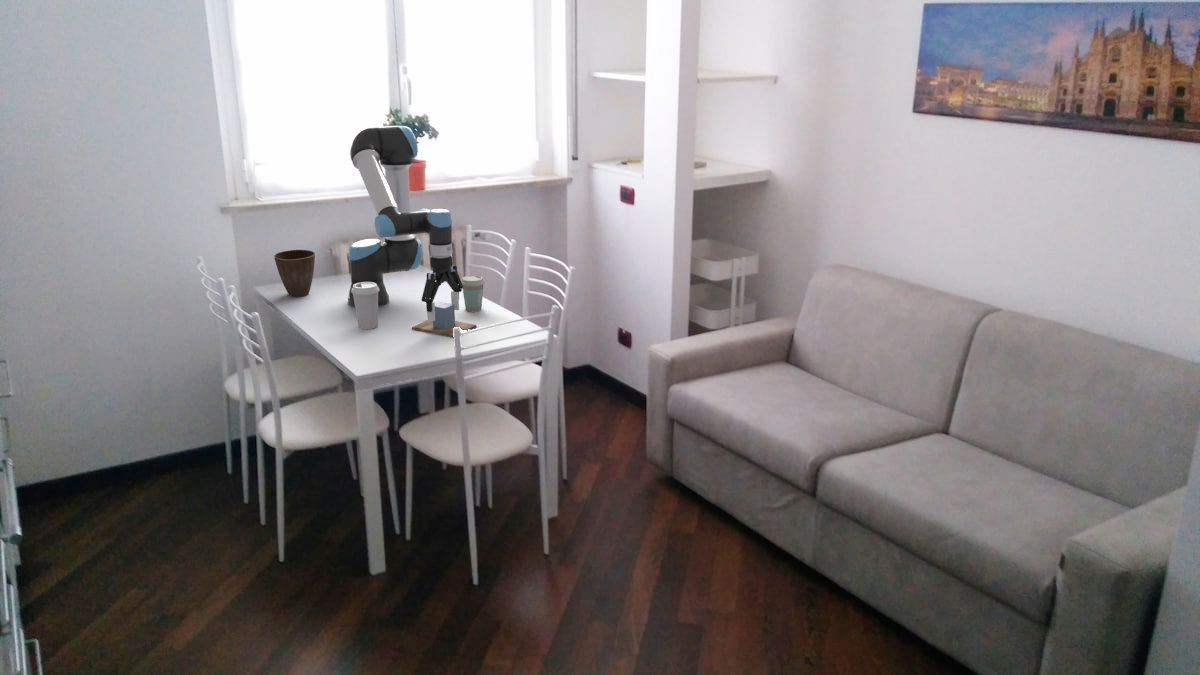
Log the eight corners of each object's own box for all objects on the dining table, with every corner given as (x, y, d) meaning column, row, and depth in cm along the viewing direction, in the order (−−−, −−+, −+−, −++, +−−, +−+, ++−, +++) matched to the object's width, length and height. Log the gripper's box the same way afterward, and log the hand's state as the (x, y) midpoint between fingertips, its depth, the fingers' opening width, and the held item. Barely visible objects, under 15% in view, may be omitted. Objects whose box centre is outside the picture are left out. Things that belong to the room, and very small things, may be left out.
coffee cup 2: (480, 313, 336) (479, 282, 332) (458, 311, 338) (457, 280, 334) (488, 306, 344) (487, 275, 340) (466, 305, 345) (465, 274, 342)
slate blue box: (433, 326, 318) (432, 305, 316) (442, 322, 323) (441, 301, 320) (445, 329, 316) (444, 308, 313) (455, 325, 320) (454, 304, 318)
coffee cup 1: (358, 321, 325) (355, 280, 320) (385, 322, 325) (382, 281, 320) (350, 330, 316) (347, 288, 311) (378, 331, 316) (375, 289, 311)
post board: (412, 329, 318) (411, 308, 316) (435, 318, 329) (434, 299, 327) (454, 337, 310) (453, 317, 308) (476, 327, 321) (475, 307, 319)
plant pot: (302, 302, 346) (298, 260, 341) (269, 297, 351) (265, 256, 346) (326, 291, 359) (323, 251, 354) (294, 287, 364) (291, 248, 359)
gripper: (427, 265, 299) (429, 326, 306) (471, 249, 320) (473, 307, 327) (408, 261, 302) (412, 322, 310) (454, 246, 323) (456, 303, 330)
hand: (443, 314), depth 318 cm, fingers open, 13 cm apart
